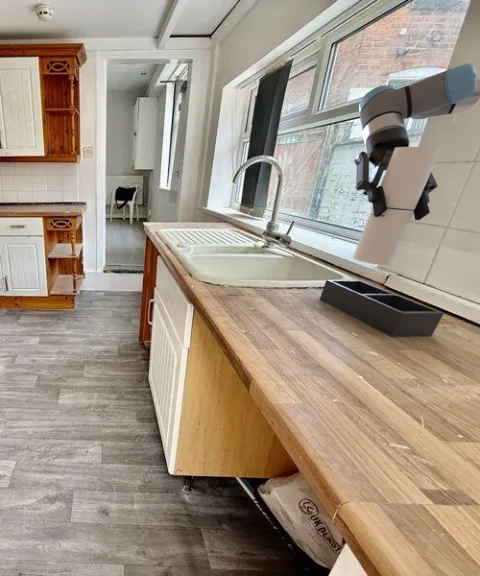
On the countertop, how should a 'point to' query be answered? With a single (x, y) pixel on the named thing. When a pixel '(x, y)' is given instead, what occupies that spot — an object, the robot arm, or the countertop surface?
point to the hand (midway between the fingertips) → (401, 214)
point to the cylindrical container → (396, 203)
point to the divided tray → (381, 308)
